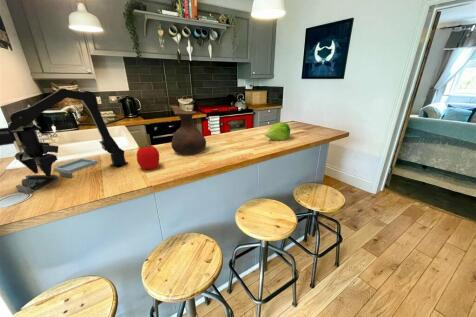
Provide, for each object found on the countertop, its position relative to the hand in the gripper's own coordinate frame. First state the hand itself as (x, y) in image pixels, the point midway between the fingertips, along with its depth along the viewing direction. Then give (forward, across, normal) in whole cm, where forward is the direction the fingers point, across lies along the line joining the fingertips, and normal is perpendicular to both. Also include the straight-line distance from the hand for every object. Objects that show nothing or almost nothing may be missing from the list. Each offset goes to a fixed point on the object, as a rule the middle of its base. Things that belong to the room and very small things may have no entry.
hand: (42, 174), depth 91 cm
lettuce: (+5, -87, -103) cm, 135 cm away
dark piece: (+7, 0, -2) cm, 7 cm away
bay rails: (+5, -1, 0) cm, 5 cm away
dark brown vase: (+5, -38, -60) cm, 71 cm away
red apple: (+5, -32, -31) cm, 45 cm away
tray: (+5, +7, -18) cm, 20 cm away
